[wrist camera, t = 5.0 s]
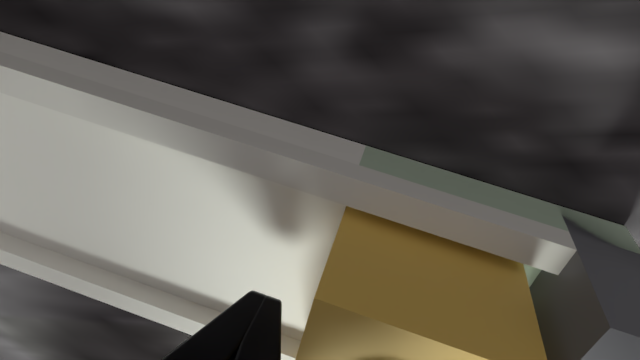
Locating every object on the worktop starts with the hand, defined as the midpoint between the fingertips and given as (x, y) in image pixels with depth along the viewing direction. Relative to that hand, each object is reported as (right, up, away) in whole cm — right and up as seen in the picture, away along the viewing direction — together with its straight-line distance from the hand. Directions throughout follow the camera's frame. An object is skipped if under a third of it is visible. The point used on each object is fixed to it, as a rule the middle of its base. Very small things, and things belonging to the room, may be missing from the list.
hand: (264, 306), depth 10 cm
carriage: (+3, 0, +1) cm, 3 cm away
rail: (-1, +2, +2) cm, 3 cm away
